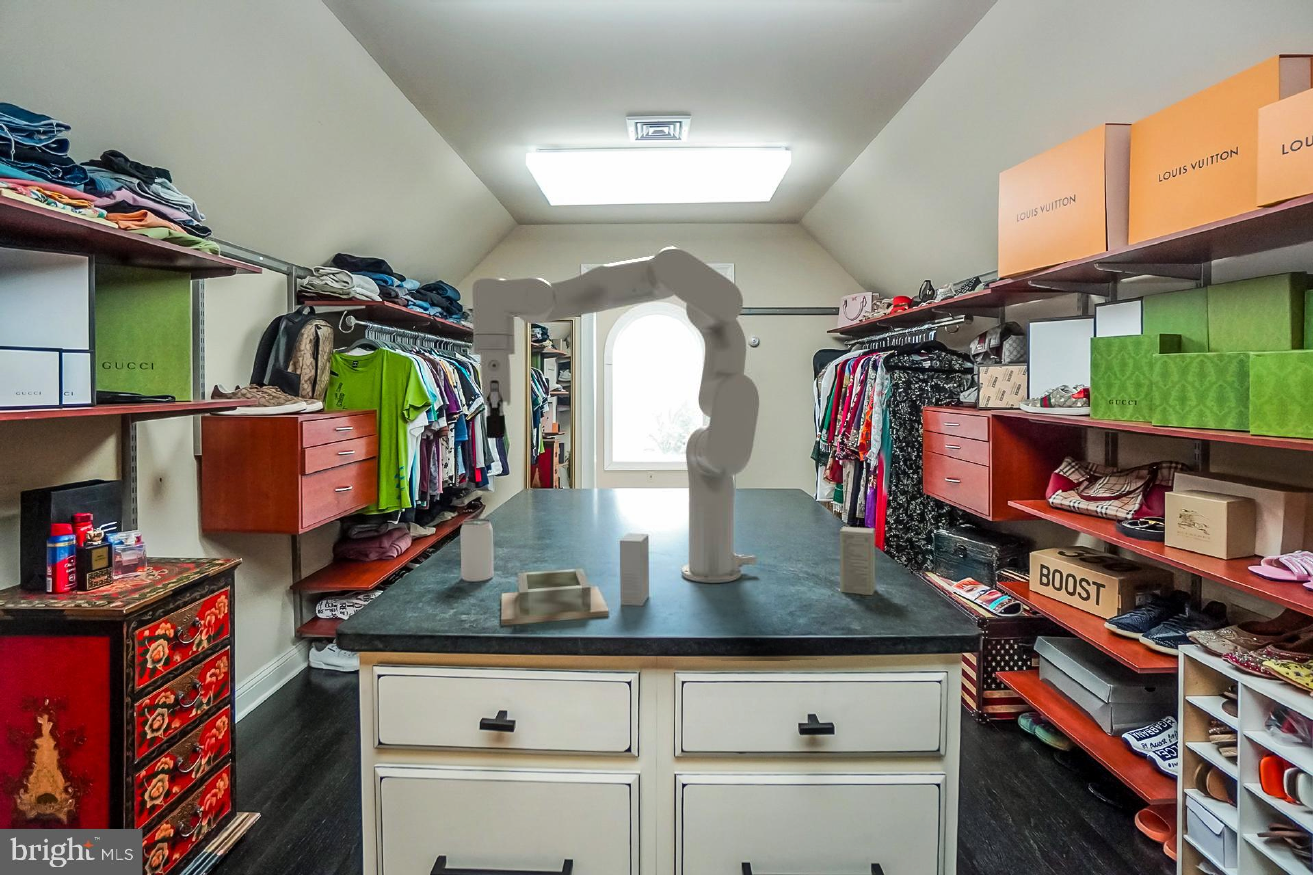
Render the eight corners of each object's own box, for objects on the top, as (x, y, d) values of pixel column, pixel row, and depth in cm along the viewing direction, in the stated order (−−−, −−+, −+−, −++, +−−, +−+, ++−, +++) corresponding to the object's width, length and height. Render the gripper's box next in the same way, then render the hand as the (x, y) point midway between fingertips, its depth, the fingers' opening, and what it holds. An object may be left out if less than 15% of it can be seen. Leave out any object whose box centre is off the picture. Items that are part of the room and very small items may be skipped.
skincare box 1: (627, 594, 118) (627, 532, 117) (649, 596, 117) (649, 533, 117) (619, 605, 112) (619, 540, 112) (642, 606, 111) (642, 541, 111)
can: (484, 583, 126) (483, 525, 125) (455, 581, 127) (454, 523, 126) (499, 574, 132) (497, 518, 131) (471, 572, 133) (469, 517, 132)
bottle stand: (597, 591, 120) (597, 566, 120) (608, 615, 107) (608, 587, 106) (501, 598, 116) (501, 572, 116) (501, 625, 102) (500, 595, 102)
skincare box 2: (875, 589, 121) (876, 528, 120) (872, 596, 117) (874, 532, 116) (841, 585, 123) (842, 525, 123) (838, 592, 119) (839, 529, 119)
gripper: (515, 342, 109) (516, 439, 110) (514, 349, 126) (515, 433, 127) (470, 341, 108) (473, 439, 109) (476, 349, 124) (478, 434, 126)
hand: (496, 436), depth 118 cm, fingers open, 9 cm apart
